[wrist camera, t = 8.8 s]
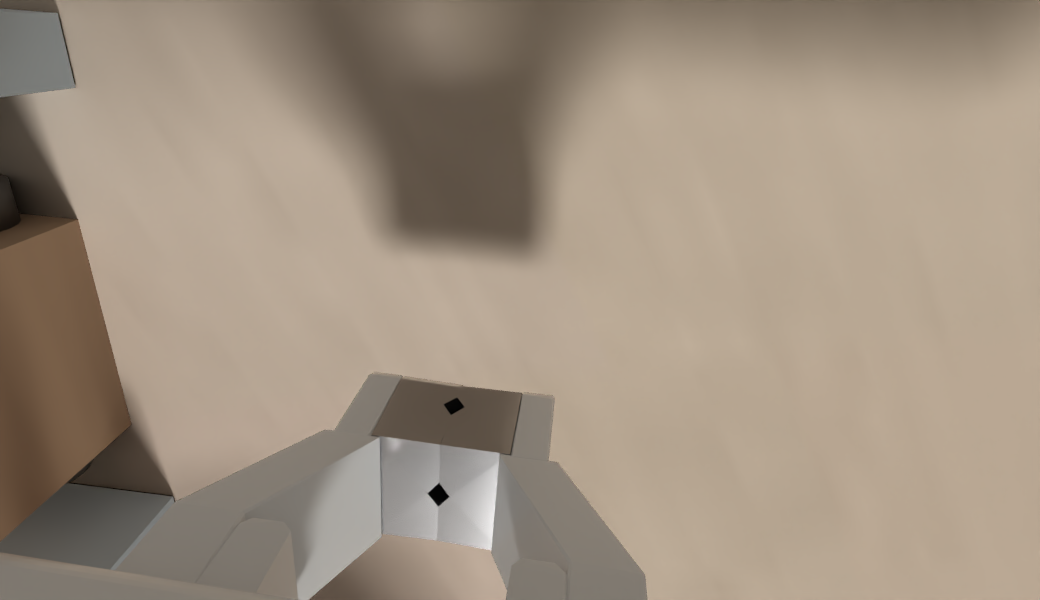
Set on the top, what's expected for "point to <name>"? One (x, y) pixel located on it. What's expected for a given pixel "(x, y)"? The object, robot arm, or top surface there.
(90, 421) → the cart
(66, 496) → the bay
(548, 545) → the robot arm
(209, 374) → the top surface
